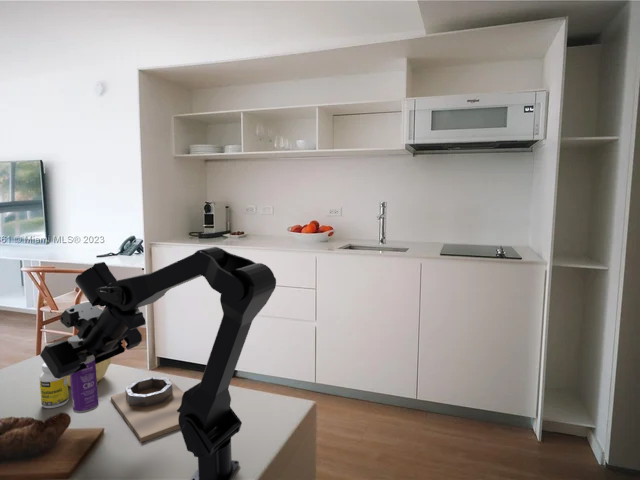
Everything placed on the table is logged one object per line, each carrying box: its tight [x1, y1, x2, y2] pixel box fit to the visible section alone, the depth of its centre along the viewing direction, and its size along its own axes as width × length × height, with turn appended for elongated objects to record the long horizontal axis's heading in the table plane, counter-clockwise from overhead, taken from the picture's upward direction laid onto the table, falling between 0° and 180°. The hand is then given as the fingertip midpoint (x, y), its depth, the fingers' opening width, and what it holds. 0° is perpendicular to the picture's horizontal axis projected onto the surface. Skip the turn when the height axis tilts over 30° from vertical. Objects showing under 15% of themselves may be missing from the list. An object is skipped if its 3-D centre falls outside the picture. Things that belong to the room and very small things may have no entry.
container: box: [67, 334, 99, 414], centre depth 88 cm, size 5×5×15 cm
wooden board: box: [110, 378, 185, 443], centre depth 98 cm, size 22×14×1 cm, turn 40°
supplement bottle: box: [39, 362, 70, 409], centre depth 100 cm, size 5×5×10 cm
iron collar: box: [124, 376, 173, 407], centre depth 101 cm, size 10×10×2 cm
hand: (78, 368), depth 88 cm, fingers closed on container, 5 cm apart
